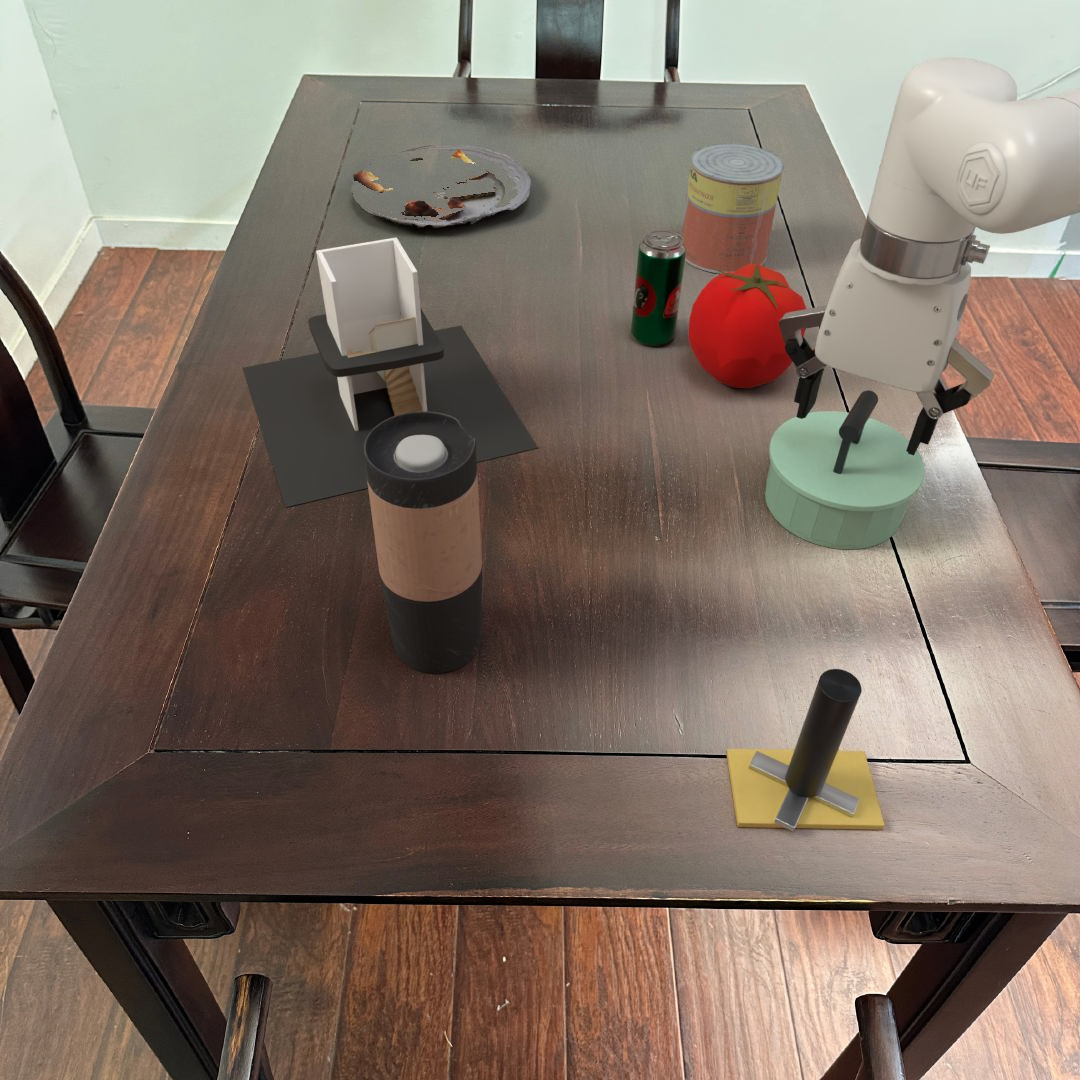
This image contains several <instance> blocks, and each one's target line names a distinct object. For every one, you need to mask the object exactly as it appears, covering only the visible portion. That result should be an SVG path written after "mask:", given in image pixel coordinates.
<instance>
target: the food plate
mask: <svg viewBox="0 0 1080 1080" xmlns="http://www.w3.org/2000/svg"><path fill="white" fill-rule="evenodd" d="M426 148H427V149H430V150H433V149H435V150H442V151H443V150H446V151H447V150H448V151H452V150H453V151H457V152H455V153H454V154H453V155H452V157H451V158H460V159H462V160H463V161H464V162H465V163H472V164H474V163H475V162H472V160H471V159H469V158H468V157H467V156H465V153H466V154H470V155H474V156H479V157H480V158H484V159H487V160H489V161H494V163H496V164H498V165H501V166H502V170H508V171H510V172H508V174H507V176H508V177H507V178H509V179H513V181H514V182H515V183H516V184H517V185H516V186H515V187H512V189H511V190H514V189H517V190H518V192H517V193H518V195H517V196H516V197H515V198H514V199H511V200H510V202H509V203H511V204H508V205H506V206H504V207H499V208H496V207H495V205H497V204H498V203H500V202H501V201H502V199H503V198H504V195H505V187H504V185H503V183H502V182H501V181H500V180H498V179H496V177H495V175H494V174H492V173H490V172H489V171H488V170H486V169H485V170H486V172H488V173H485V174H483V175H481V176H478V177H474V178H472V179H471V178H469V180H481V179H492V183H494V185H495V186H496V187H493V188H494V189H495V192H488V193H481V194H473V195H467V196H461V197H452V198H450V201H449V202H448V203H447V204H448V206H449V208H450V209H453V208H462V207H463V206H464V205H465V206H466V208H465V209H464V210H461V211H458V212H456V213H452V214H449V215H446V216H443V217H441V218H439V219H440V220H441V222H433V221H432V220H426V219H425V218H424V220H418V219H407V218H405V219H404V220H403V219H397V218H392V217H388V216H387V217H388V218H387V217H386V216H384V215H383V216H382V215H380V216H382V217H384V218H385V219H384V218H383V219H384V220H388V221H389V220H391V221H393V222H392V223H394V222H396V223H398V224H397V225H403V226H411V227H412V226H413V227H414V225H415V227H416V226H418V227H417V228H420V227H422V228H424V227H426V226H432V228H436V229H438V228H443V227H446V226H455V225H466V224H467V222H469V223H470V225H473V224H474V223H477V222H478V221H481V220H482V219H483V218H482V217H484V218H487V217H492V216H494V215H495V214H497V213H499V212H504V211H505V210H506V211H507V210H508V211H514V210H516V209H517V208H519V207H520V206H521V205H523V204H524V203H525V202H526V201H528V198H529V197H530V193H531V183H532V179H531V176H530V175H529V172H528V170H527V169H525V168H526V167H524V166H523V165H522V164H521V163H519V162H518V161H516V160H515V159H512V157H510V156H509V155H507V154H504V153H499V152H497V151H494V150H491V149H487V148H483V147H479V146H470V145H459V144H458V145H433V146H432V145H423V146H418V147H413V148H410V149H406V150H402V151H400V152H398V153H402V152H406V151H415V150H421V149H424V150H426ZM411 159H412V160H410V161H418V160H423V158H421V157H419V158H411ZM475 164H476V163H475ZM478 166H479V165H478ZM499 168H500V167H499ZM483 169H484V168H483ZM352 177H353V178H352V180H353V179H354V181H358V182H359V183H361V184H362V185H364V186H366V187H367V188H369V189H371V190H374V191H380V192H378V193H383V192H384V191H385V190H386V191H391V190H393V188H389V189H384V188H383V187H382V186H381V185H380V184H378V183H372V182H371V181H374V180H378V179H379V178H378V177H375V176H374V175H373V174H372V173H371V172H367V171H365V172H364V171H362V170H359V171H357V172H356V173H353V174H352ZM466 181H467V180H466ZM455 183H457V182H455ZM460 183H463V184H464V183H467V182H459V183H457V184H460ZM447 188H449V187H447ZM453 188H454V187H453ZM513 188H514V189H513ZM443 189H444V188H443ZM451 189H452V188H451ZM444 190H447V189H444ZM433 193H436V194H438V195H440V194H445V192H433ZM435 196H436V195H435ZM440 196H441V197H438V198H442V199H447V200H448V197H446V196H443V195H440ZM438 198H437V199H438ZM404 207H405V211H404V212H405V214H404V212H401V213H402V215H405V216H414V217H416V216H421V217H422V216H431V217H436V216H437V215H439V214H438V212H437V211H436V210H435V209H432V207H431V206H430V205H428V203H426V202H425V201H424V200H422V201H421V200H418V201H411V202H409V203H406V206H404ZM434 208H436V207H434ZM490 208H491V210H490ZM436 209H439V210H445V209H442V208H436ZM492 211H493V212H492ZM372 213H373V212H372ZM391 213H392V212H391ZM395 213H398V212H395ZM401 213H399V214H401ZM373 214H375V215H378V216H379V214H380V213H379V214H376V213H373ZM491 215H492V216H491ZM486 216H487V217H486ZM382 217H381V218H382ZM464 217H467V218H469V219H467V220H465V219H463V218H464ZM481 218H482V219H481ZM477 219H479V220H477ZM391 221H390V222H391ZM422 221H423V222H422ZM460 222H463V223H460ZM396 223H395V224H396Z"/></svg>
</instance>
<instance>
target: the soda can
mask: <svg viewBox="0 0 1080 1080" xmlns="http://www.w3.org/2000/svg"><path fill="white" fill-rule="evenodd" d="M683 243H684V239H683V237H682V234H680V233H678V232H675V231H673V230H668V229H655V230H650V231H648V232H646V233H645V234H644V235H643V237H642V241H641V242H640V243H639V244H638V251H637V262H636V273H635V284H634V285H635V286H634V293H633V304H632V315H631V327H630V333H631V335H632V337H633V338H634V339H635V340H636V341H637V342H638V343H640V344H642V345H643V346H644V345H645V346H648V347H660V346H661V347H662V346H664V345H667V344H668V343H669V342H671V341H672V340H673V339H674V338H675V337H676V332H677V323H678V316H679V315H678V314H679V309H680V308H679V307H680V299H681V293H682V286H683V277H684V269H685V263H686V261H685V255H686V248H685V246H684V244H683Z"/></svg>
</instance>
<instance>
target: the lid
mask: <svg viewBox="0 0 1080 1080" xmlns="http://www.w3.org/2000/svg"><path fill="white" fill-rule="evenodd" d="M878 403H879V396H878V394H877V393H876V392H874V391H873V390H869V389H867V390H863V391H862V392H861V393H860V394H859V396H858V397H857V399H856V401H855V402H854V404H853V406H852V407H851V409H850V410H849V412H845V411H835V410H821V411H813V412H809V413H808V415H807V416H806V418H803V419H800V418H797V417H796V416H794V417H792V418H790V419H788V420H786V421H785V422H783V423H782V424H781V425H780V426H778V428H776V430H775V431H774V432H773V435H772V436H771V440H770V443H769V448H768V456H769V461H770V464H771V463H772V466H773V468H774V470H775V471H776V473H777V474H778V475H779V477H780V478H781V479H782V480H783V481H784V482H785V483H786V484H787V485H788V486H790V487H791V488H792V489H793V490H795V491H796V492H798V493H800V494H801V495H803V496H805V497H807V498H809V499H811V500H813V501H815V502H818V503H820V504H823V505H827V506H830V507H834V508H838V509H843V510H850V511H878V510H884V509H889V508H892V507H895V506H898V505H900V504H902V503H904V502H906V501H908V500H909V499H910V498H911V499H912V498H913V497H914V496H915V495H916V494H917V493H918V492H919V490H920V488H921V486H922V484H923V481H924V478H925V473H926V472H925V471H926V470H925V463H924V459H923V457H922V455H921V453H920V451H919V449H917V451H916V452H915V454H914V456H913V455H910V454H908V452H906V450H907V447H908V444H909V441H910V439H909V438H908V437H906V436H905V435H904V434H902V433H901V432H899V430H897V429H895V428H893V427H891V426H890V425H888V424H886V423H884V422H882V421H879V420H877V419H874V418H872V417H871V416H872V414H873V411H874V409H875V408H876V406H877V404H878ZM911 499H910V500H911Z"/></svg>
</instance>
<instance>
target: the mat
mask: <svg viewBox="0 0 1080 1080" xmlns="http://www.w3.org/2000/svg"><path fill="white" fill-rule="evenodd" d="M794 750H795V749H776V748H775V749H770V748H768V749H767V748H727V749H726V761H727V767H728V774H729V779H730V787H731V793H732V799H733V807H734V813H735V821H736V827H737V828H767V829H768V828H770V829H771V828H772V829H773V828H774V829H775V828H776V829H777V828H778V829H786V828H785V827H783V826H781V825H779V824H777V823H775V822H774V821H775V818H776V816H777V814H778V812H779V810H780V807H781V805H782V803H783V801H784V799H785V797H786V794H787V792H788V790H789V787H787V786H785V785H783V784H780V783H778V782H776V781H774V780H772V779H770V778H768V777H766V776H764V775H762V774H760V773H757V772H755V771H753V770H751V769H749V765H750V763H751V761H752V759H753V757H754V755H755V753H756V751H758V752H761V753H763V754H765V755H767V756H769V757H771V758H773V759H776V760H778V761H780V762H782V763H784V764H786V765H788V766H789V764H790V761H791V758H792V756H793V753H794ZM825 783H827V784H829V785H831V786H833V787H835V788H837V789H839V790H842V791H844V792H846V793H848V794H850V795H852V796H854V797H856V798H859V799H860V800H859V803H858V805H857V808H856V810H855V813H854V815H853V817H849V816H847V815H845V814H843V813H841V812H839V811H837V810H835V809H833V808H831V807H829V806H826V805H824V804H822V803H820V802H818V801H816V800H814V799H812V798H810V797H809V798H808V800H807V803H806V805H805V807H804V809H803V812H802V814H801V816H800V818H799V821H798V823H797V825H796V827H795V829H826V830H829V829H830V830H831V829H832V830H875V831H876V830H878V831H879V830H883V829H884V828H885V822H884V817H883V814H882V811H881V806H880V803H879V799H878V795H877V792H876V788H875V783H874V781H873V777H872V773H871V770H870V766H869V762H868V759H867V754H866V752H865V751H864V750H838V751H837V754H836V756H835V759H834V761H833V764H832V766H831V769H830V771H829V774H828V776H827V779H826V781H825Z"/></svg>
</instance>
